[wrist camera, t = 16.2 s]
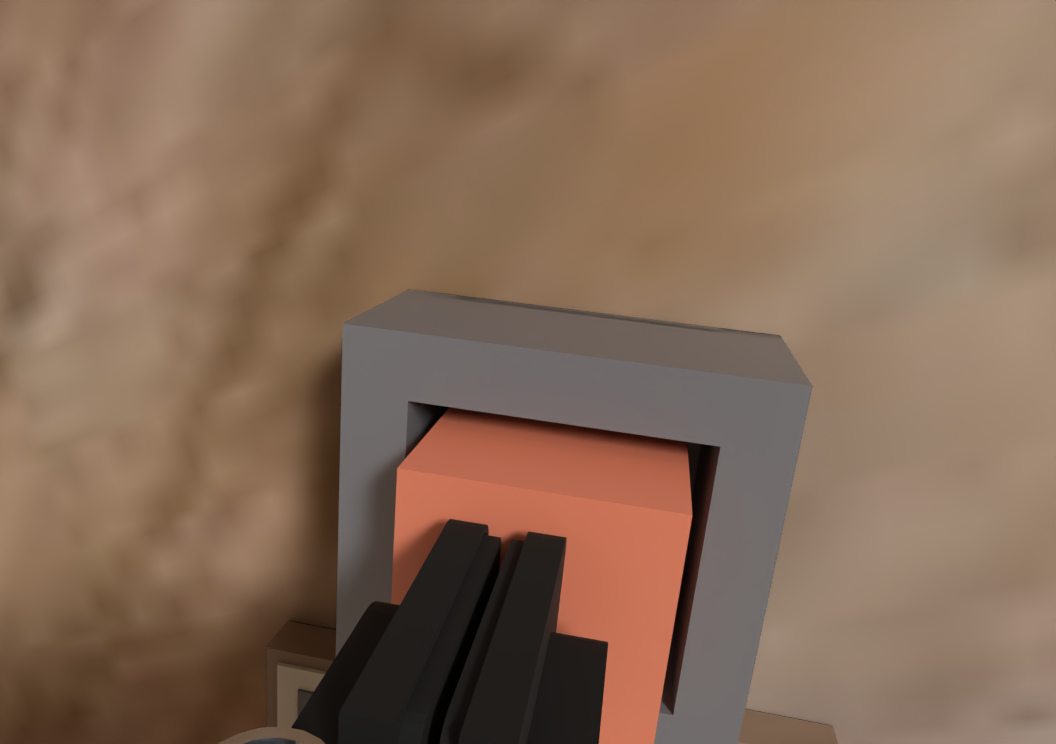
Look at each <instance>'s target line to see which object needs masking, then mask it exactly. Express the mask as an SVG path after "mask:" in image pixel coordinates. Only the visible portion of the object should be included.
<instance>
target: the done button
mask: <svg viewBox="0 0 1056 744" xmlns="http://www.w3.org/2000/svg"><path fill="white" fill-rule="evenodd" d="M449 519H454V520H461V521H467V522H473V523H479V524H486V525H488V528H489V536H496V537H501V552H500V563H499V572H500V569H501V566H502V564H503V561H504V558H505V555H506V553H507V550H508V547H509V545H510V542H511V540H512V539H514V540H520V541H525V539H526V536H527V533H528V532H535V533H542V534H548V535H554V536H560V537H567V542H566V552H565V561H564V569H563V578H562V586H561V595H560V603H559V612H558V620H557V629H556V633H561V634H566V635H572V636H578V637H583V638H589V639H595V640H600V641H606V642H608V652H607V662H606V673H605V683H604V694H603V705H602V715H601V726H600V736H599V744H654V740H655V734H656V728H657V722H658V716H659V710H660V704H661V698H662V693H663V687H664V681H665V675H666V669H667V663H668V657H669V651H670V645H671V639H672V634H673V628H674V622H675V616H676V610H677V604H678V598H679V592H680V586H681V580H682V575H683V569H684V563H685V557H686V551H687V545H688V539H689V533H690V527H691V521H692V501H691V488H690V474H689V461H688V447H687V442H685V441H678V440H671V439H664V438H657V437H651V436H644V435H637V434H630V433H623V432H616V431H610V430H603V429H596V428H589V427H582V426H575V425H569V424H562V423H555V422H548V421H541V420H534V419H528V418H521V417H514V416H507V415H500V414H493V413H487V412H480V411H473V410H466V409H459V408H452V407H450V408H449V409H448V410H447V411H446V412H445V413H444V414H443V416H442V417H441V418H440V419H439V420H438V421H437V423H436V424H435V425H434V426H433V427H432V428H431V430H430V431H429V432H428V433H427V434H426V435H425V437H424V438H423V439H422V440H421V441H420V442H419V444H418V445H417V446H416V447H415V448H414V449H413V450H412V452H411V453H410V454H409V455H408V456H407V457H406V459H405V460H404V461H403V462H402V463H401V464H400V466H399V467H398V468H397V484H396V506H395V528H394V550H393V573H392V595H391V604H396V605H400V604H401V602H402V600H403V599H404V597H405V595H406V593H407V592H408V590H409V588H410V586H411V585H412V583H413V581H414V579H415V578H416V576H417V574H418V572H419V570H420V569H421V567H422V565H423V563H424V562H425V560H426V558H427V556H428V555H429V553H430V551H431V549H432V548H433V546H434V544H435V542H436V540H437V539H438V537H439V535H440V533H441V532H442V530H443V528H444V526H445V525H446V523H447V521H448V520H449Z"/></svg>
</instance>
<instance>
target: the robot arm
mask: <svg viewBox="0 0 1056 744" xmlns="http://www.w3.org/2000/svg"><path fill="white" fill-rule="evenodd" d="M566 542H567V537H560V536H554V535H548V534H542V533H535V532H528V533H527V536H526V539H525V541H520V540H514V539H512V540H511V542H510V545H509V547H508V550H507V553H506V555H505V558H504V561H503V564H502V566H501V569H500V572H499V563H500V552H501V537H496V536H489V528H488V525H486V524H479V523H473V522H467V521H461V520H454V519H449V520H448V521H447V523H446V525H445V526H444V528H443V530H442V532H441V533H440V535H439V537H438V539H437V540H436V542H435V544H434V546H433V548H432V549H431V551H430V553H429V555H428V556H427V558H426V560H425V562H424V563H423V565H422V567H421V569H420V570H419V572H418V574H417V576H416V578H415V579H414V581H413V583H412V585H411V586H410V588H409V590H408V592H407V593H406V595H405V597H404V599H403V600H402V602H401V604H400V605H396V604H391V603H385V602H379V601H375V602H372V603H371V604H370V605H369V607H368V608H367V609H366V611H365V612H364V614H363V615H362V617H361V618H360V620H359V622H358V623H357V625H356V626H355V628H354V629H353V631H352V633H351V634H350V636H349V637H348V639H347V640H346V642H345V644H344V645H343V647H342V648H341V650H340V651H339V653H338V655H337V656H336V658H335V659H334V661H333V662H332V664H331V666H330V667H329V669H328V670H327V672H326V674H325V675H324V677H323V678H322V680H321V681H320V683H319V685H318V686H317V688H316V689H315V691H314V692H313V694H312V696H311V697H310V699H309V700H308V702H307V703H306V705H305V707H304V708H303V710H302V711H301V713H300V714H299V716H298V718H297V719H296V721H295V722H294V724H293V725H292V727H291V728H289V727H261V728H257V729H253V730H250V731H246V732H242V733H238V734H236V735H234V736H232V737H230V738H228V739H226V740H224V741H222V742H220V743H218V744H599V736H600V726H601V715H602V705H603V694H604V683H605V673H606V662H607V652H608V642H606V641H600V640H595V639H589V638H583V637H578V636H572V635H566V634H561V633H556V629H557V620H558V612H559V603H560V595H561V586H562V578H563V569H564V561H565V552H566Z"/></svg>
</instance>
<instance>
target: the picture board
mask: <svg viewBox="0 0 1056 744" xmlns="http://www.w3.org/2000/svg"><path fill="white" fill-rule="evenodd" d="M335 658H336V630H332V629H327V628H322V627H317V626H311V625H306V624H301V623H296V622H291V621H288V622H287V623H286V624H285V625H284V627H283V628H282V629H281V630H280V632H279V633H278V634H277V635H276V637H275V638H274V639H273V640H272V641H271V643H270V644H269V645H268V646H267V648H266V665H267V727H289V728H291V727H292V725H293V724H294V722H295V721H296V719H297V718H298V716H299V714H300V713H301V711H302V710H303V708H304V707H305V705H306V703H307V702H308V700H309V699H310V697H311V696H312V694H313V692H314V691H315V689H316V688H317V686H318V685H319V683H320V681H321V680H322V678H323V677H324V675H325V674H326V672H327V670H328V669H329V667H330V666H331V664H332V662H333V661H334V659H335ZM738 744H838V742H837V739H836V735H835V732H834V729H833V726H830V725H825V724H820V723H815V722H809V721H804V720H799V719H794V718H789V717H783V716H778V715H773V714H768V713H763V712H758V711H752V710H747V709H745V712H744V717H743V722H742V727H741V732H740V736H739V741H738Z"/></svg>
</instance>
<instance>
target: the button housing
mask: <svg viewBox="0 0 1056 744" xmlns="http://www.w3.org/2000/svg"><path fill="white" fill-rule="evenodd" d="M811 391H812V385H811V383H810V382H809V380H808V378H807V377H806V375H805V374H804V372H803V371H802V369H801V367H800V366H799V364H798V363H797V361H796V360H795V358H794V356H793V355H792V353H791V352H790V350H789V349H788V347H787V345H786V344H785V342H784V341H783V339H782V338H781V336H780V335H772V334H764V333H756V332H748V331H740V330H732V329H724V328H716V327H708V326H700V325H692V324H684V323H676V322H668V321H660V320H652V319H644V318H636V317H628V316H620V315H612V314H604V313H596V312H588V311H580V310H572V309H564V308H556V307H548V306H540V305H532V304H524V303H516V302H508V301H500V300H492V299H484V298H476V297H468V296H460V295H451V294H443V293H435V292H427V291H419V290H411V289H409V290H407V291H405V292H403V293H401V294H399V295H397V296H395V297H393V298H391V299H389V300H387V301H385V302H383V303H382V304H380V305H378V306H376V307H374V308H372V309H370V310H368V311H366V312H364V313H362V314H360V315H358V316H356V317H355V318H353V319H351V320H349V321H347V322H345V323H343V335H342V382H341V428H340V475H339V521H338V568H337V614H336V656H337V655H338V653H339V651H340V650H341V648H342V647H343V645H344V644H345V642H346V640H347V639H348V637H349V636H350V634H351V633H352V631H353V629H354V628H355V626H356V625H357V623H358V622H359V620H360V618H361V617H362V615H363V614H364V612H365V611H366V609H367V608H368V607H369V605H370V604H371V603H372V602H375V601H379V602H385V603H391V595H392V573H393V550H394V528H395V506H396V484H397V468H398V467H399V466H400V464H401V463H402V462H403V461H404V460H405V459H406V457H407V456H408V455H409V454H410V453H411V452H412V450H413V449H414V448H415V447H416V446H417V445H418V444H419V442H420V441H421V440H422V439H423V438H424V437H425V435H426V434H427V433H428V432H429V431H430V430H431V428H432V427H433V426H434V425H435V424H436V423H437V421H438V420H439V419H440V418H441V417H442V416H443V414H444V413H445V412H446V411H447V410H448V409H449V408H450V407H452V408H459V409H466V410H473V411H480V412H487V413H493V414H500V415H507V416H514V417H521V418H528V419H534V420H541V421H548V422H555V423H562V424H569V425H575V426H582V427H589V428H596V429H603V430H610V431H616V432H623V433H630V434H637V435H644V436H651V437H657V438H664V439H671V440H678V441H685V442H687V447H688V461H689V474H690V488H691V501H692V521H691V527H690V533H689V539H688V545H687V551H686V557H685V563H684V569H683V575H682V580H681V586H680V592H679V598H678V604H677V610H676V616H675V622H674V628H673V634H672V639H671V645H670V651H669V657H668V663H667V669H666V675H665V681H664V687H663V693H662V698H661V704H660V710H659V716H658V722H657V728H656V734H655V740H654V744H738V741H739V736H740V732H741V727H742V722H743V717H744V712H745V708H746V703H747V698H748V693H749V688H750V684H751V679H752V674H753V669H754V664H755V660H756V655H757V650H758V645H759V640H760V636H761V631H762V626H763V621H764V616H765V612H766V607H767V602H768V597H769V592H770V588H771V583H772V578H773V573H774V568H775V564H776V559H777V554H778V549H779V544H780V540H781V535H782V530H783V525H784V520H785V516H786V511H787V506H788V501H789V496H790V492H791V487H792V482H793V477H794V472H795V467H796V463H797V458H798V453H799V448H800V443H801V439H802V434H803V429H804V424H805V419H806V415H807V410H808V405H809V400H810V395H811Z"/></svg>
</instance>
